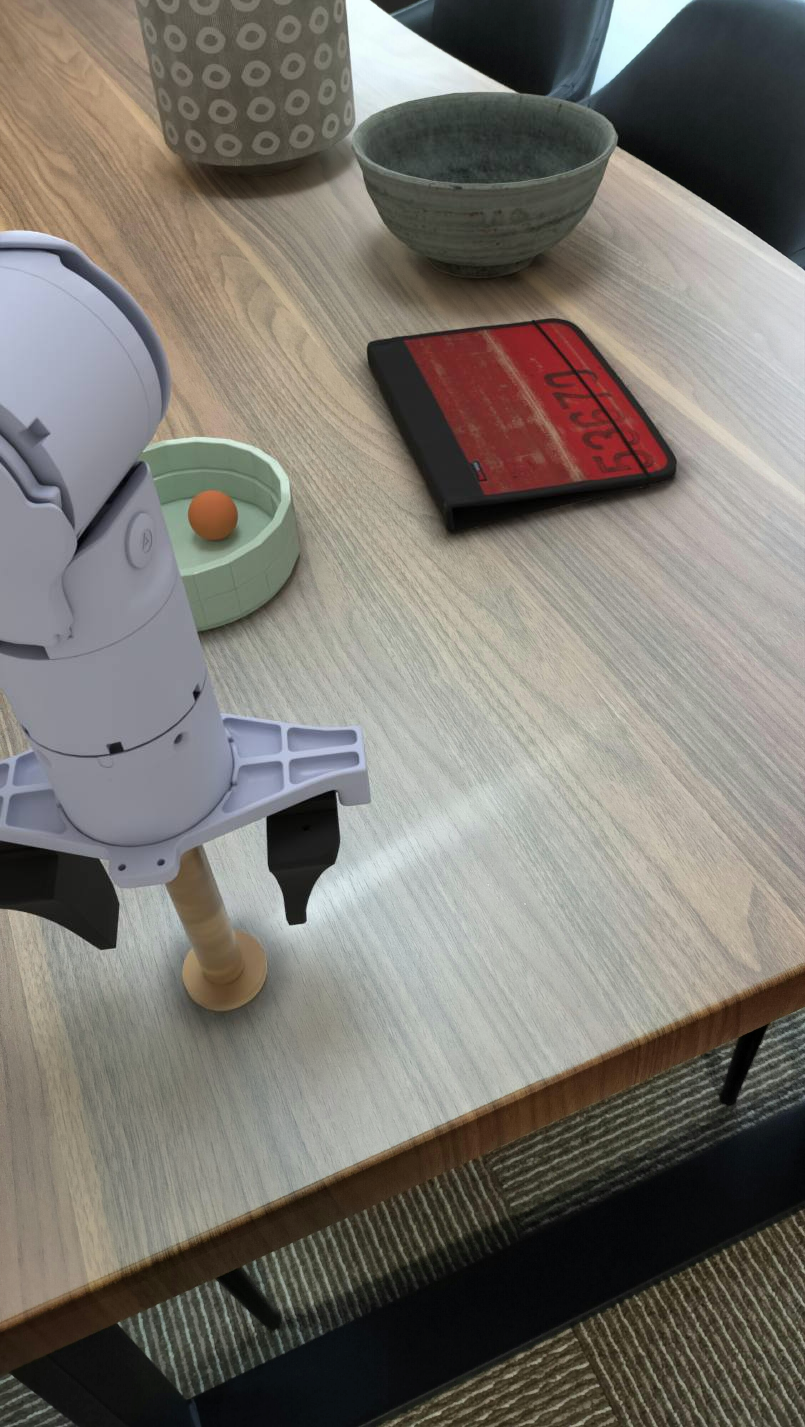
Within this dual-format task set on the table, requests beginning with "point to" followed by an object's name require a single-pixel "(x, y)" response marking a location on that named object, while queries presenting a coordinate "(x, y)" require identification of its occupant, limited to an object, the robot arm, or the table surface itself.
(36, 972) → the table surface
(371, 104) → the table surface
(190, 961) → the stick
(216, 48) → the planter
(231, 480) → the mixing bowl
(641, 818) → the table surface
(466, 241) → the bowl
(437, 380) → the notebook
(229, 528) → the ball
